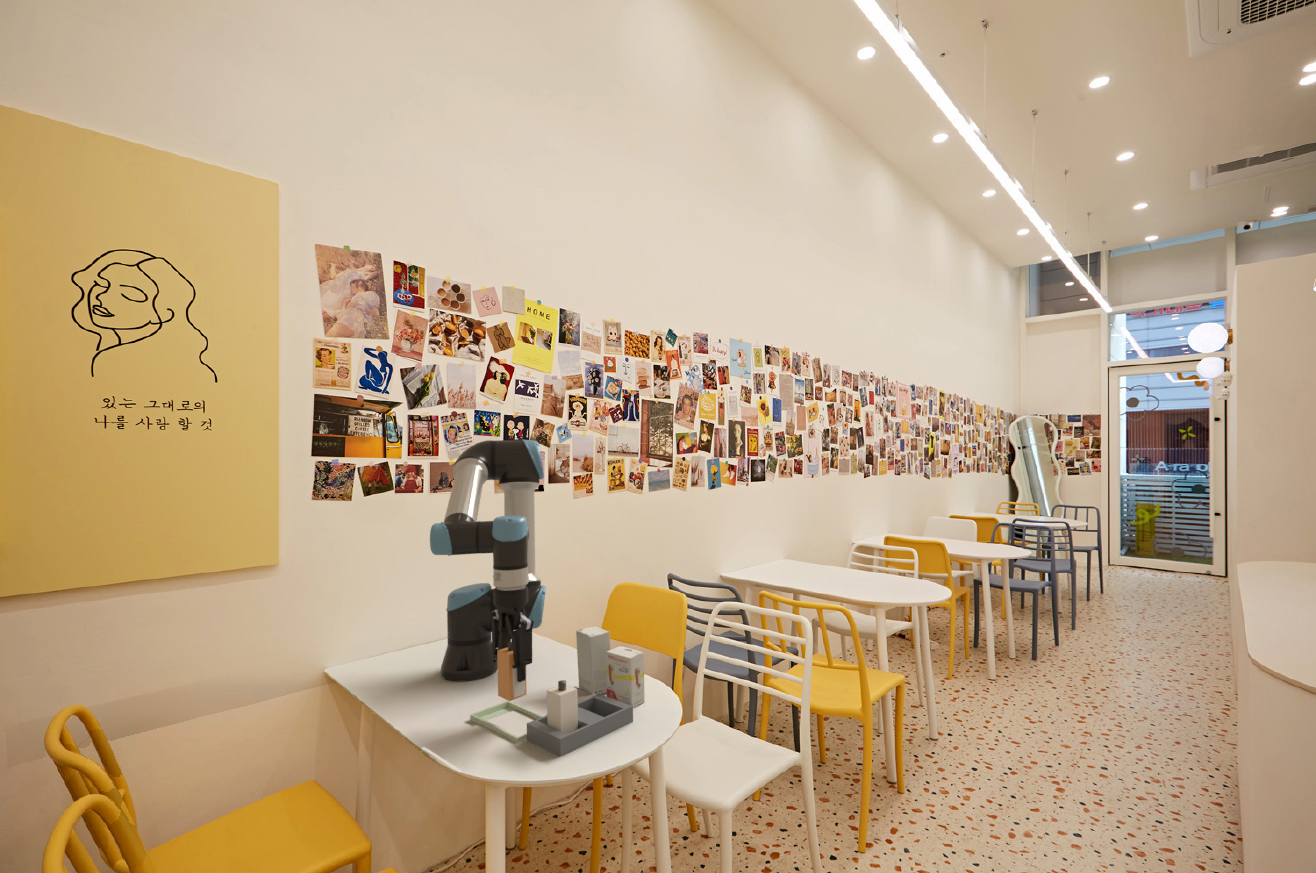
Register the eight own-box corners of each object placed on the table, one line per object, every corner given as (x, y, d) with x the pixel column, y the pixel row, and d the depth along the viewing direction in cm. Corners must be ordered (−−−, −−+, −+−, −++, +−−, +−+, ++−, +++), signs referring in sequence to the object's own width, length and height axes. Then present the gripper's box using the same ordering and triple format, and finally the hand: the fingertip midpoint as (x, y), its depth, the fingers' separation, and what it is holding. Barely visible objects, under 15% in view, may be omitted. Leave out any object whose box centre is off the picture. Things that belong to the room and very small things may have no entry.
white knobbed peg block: (547, 739, 124) (546, 682, 124) (564, 731, 127) (563, 676, 127) (561, 746, 121) (560, 687, 121) (578, 738, 124) (577, 681, 124)
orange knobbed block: (498, 695, 133) (497, 643, 133) (514, 689, 136) (514, 638, 136) (509, 701, 130) (508, 647, 130) (526, 694, 133) (525, 642, 133)
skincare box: (613, 692, 150) (612, 632, 150) (591, 698, 146) (590, 636, 147) (597, 682, 157) (596, 624, 157) (576, 687, 153) (575, 628, 154)
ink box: (605, 700, 145) (604, 650, 146) (620, 693, 149) (619, 645, 149) (631, 709, 140) (630, 657, 140) (645, 702, 143) (644, 652, 144)
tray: (470, 721, 135) (470, 714, 135) (508, 707, 142) (508, 700, 142) (517, 745, 123) (517, 738, 123) (556, 728, 130) (556, 721, 130)
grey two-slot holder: (526, 743, 124) (526, 723, 124) (599, 711, 139) (598, 693, 139) (560, 760, 116) (560, 739, 117) (633, 724, 131) (632, 706, 131)
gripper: (474, 583, 137) (475, 687, 136) (519, 596, 125) (521, 709, 125) (503, 578, 142) (504, 677, 142) (548, 589, 130) (550, 697, 130)
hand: (512, 691), depth 133 cm, fingers closed on orange knobbed block, 4 cm apart
